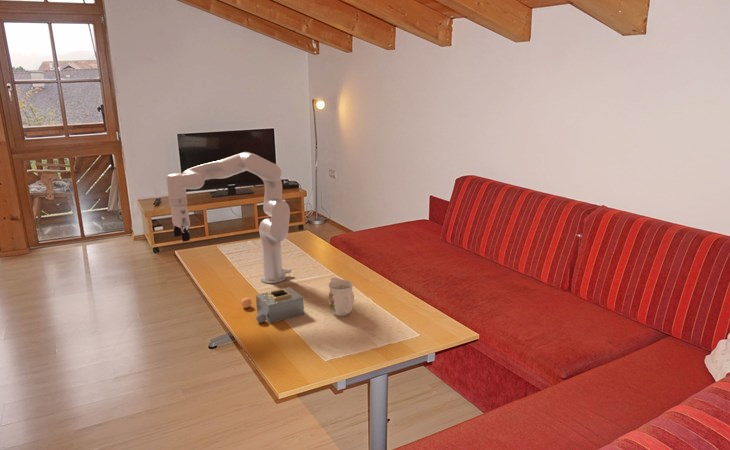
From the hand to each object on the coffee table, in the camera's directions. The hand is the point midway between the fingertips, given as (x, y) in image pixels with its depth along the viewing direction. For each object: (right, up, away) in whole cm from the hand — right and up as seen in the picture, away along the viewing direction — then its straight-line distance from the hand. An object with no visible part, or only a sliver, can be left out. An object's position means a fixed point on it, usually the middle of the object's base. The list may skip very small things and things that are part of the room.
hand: (182, 238), depth 244 cm
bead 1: (+30, -31, -1) cm, 43 cm away
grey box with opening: (+45, -32, -8) cm, 56 cm away
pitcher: (+73, -33, -9) cm, 80 cm away
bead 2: (+39, -35, -16) cm, 55 cm away
